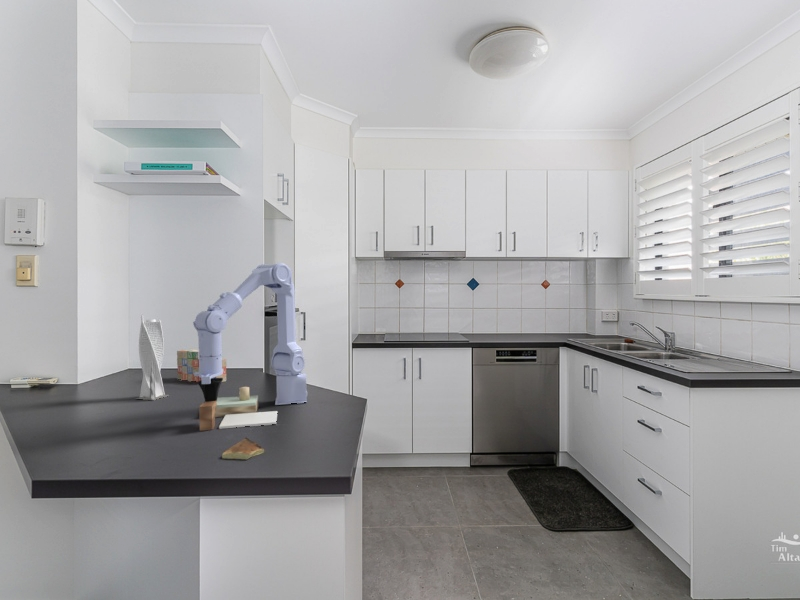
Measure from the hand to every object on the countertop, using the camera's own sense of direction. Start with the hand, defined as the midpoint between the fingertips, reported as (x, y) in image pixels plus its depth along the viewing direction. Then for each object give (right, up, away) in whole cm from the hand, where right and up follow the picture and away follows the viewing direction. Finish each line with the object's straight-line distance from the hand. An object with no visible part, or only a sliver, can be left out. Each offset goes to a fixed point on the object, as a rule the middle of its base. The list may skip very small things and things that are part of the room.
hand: (211, 406), depth 121 cm
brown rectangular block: (+1, -4, -4) cm, 6 cm away
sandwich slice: (+16, -5, -24) cm, 29 cm away
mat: (+10, -4, +1) cm, 11 cm away
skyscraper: (-33, -5, +31) cm, 46 cm away
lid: (+2, -2, +11) cm, 11 cm away
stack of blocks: (-30, -5, +62) cm, 69 cm away
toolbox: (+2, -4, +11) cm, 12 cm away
